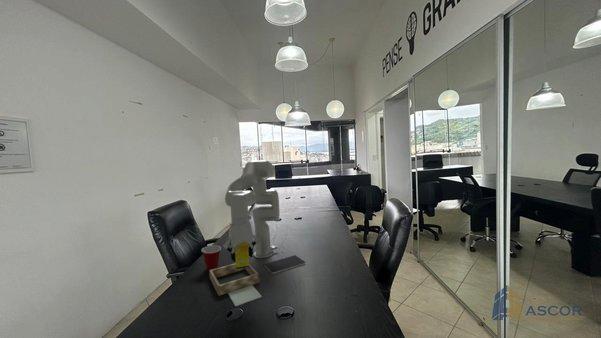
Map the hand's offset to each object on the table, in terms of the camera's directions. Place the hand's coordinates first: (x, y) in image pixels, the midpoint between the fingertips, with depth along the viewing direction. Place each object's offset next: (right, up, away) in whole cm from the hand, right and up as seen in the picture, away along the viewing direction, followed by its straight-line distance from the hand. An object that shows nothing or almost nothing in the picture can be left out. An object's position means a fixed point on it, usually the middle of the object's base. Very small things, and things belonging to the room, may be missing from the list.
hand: (242, 258), depth 111 cm
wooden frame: (-8, -17, +15) cm, 24 cm away
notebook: (+17, -16, +31) cm, 39 cm away
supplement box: (0, -4, 0) cm, 4 cm away
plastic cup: (-25, -17, +31) cm, 43 cm away
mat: (+1, -18, +1) cm, 17 cm away
